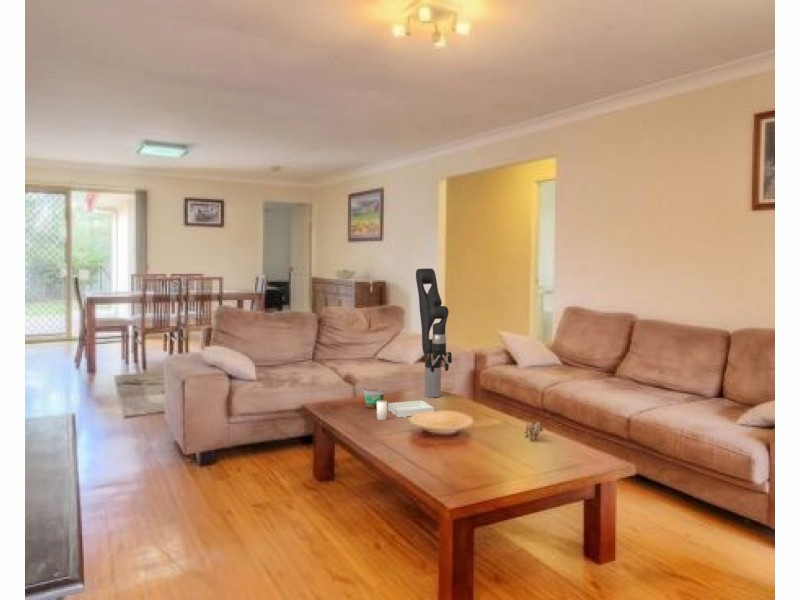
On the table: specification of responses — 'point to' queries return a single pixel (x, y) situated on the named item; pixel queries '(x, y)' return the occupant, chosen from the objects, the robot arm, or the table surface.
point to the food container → (373, 398)
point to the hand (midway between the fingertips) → (439, 371)
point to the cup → (381, 409)
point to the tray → (409, 408)
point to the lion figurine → (533, 430)
